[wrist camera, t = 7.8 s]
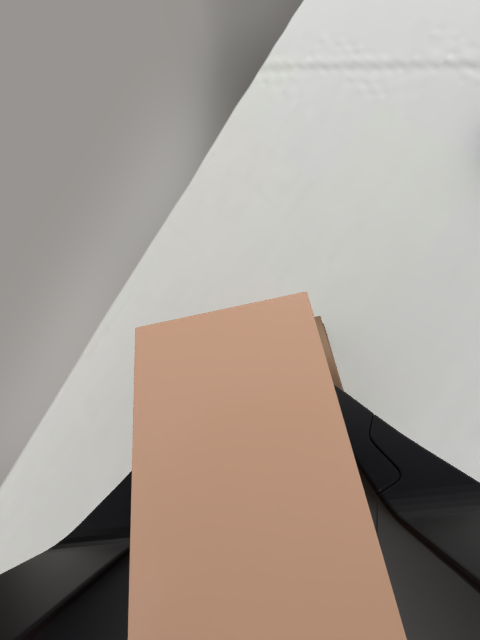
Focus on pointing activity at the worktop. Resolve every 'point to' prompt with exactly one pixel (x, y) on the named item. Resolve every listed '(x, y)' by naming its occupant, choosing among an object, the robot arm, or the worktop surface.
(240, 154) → the worktop surface
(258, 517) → the clay block
